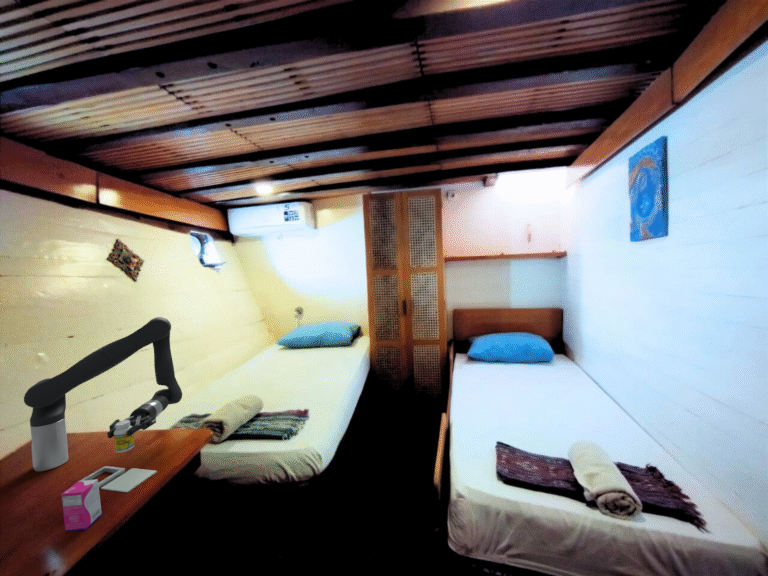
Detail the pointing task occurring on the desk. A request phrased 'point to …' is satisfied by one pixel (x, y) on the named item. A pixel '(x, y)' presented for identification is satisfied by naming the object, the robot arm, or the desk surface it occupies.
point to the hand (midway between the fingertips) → (118, 434)
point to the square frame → (115, 470)
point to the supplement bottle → (123, 437)
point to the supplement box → (81, 505)
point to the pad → (129, 480)
